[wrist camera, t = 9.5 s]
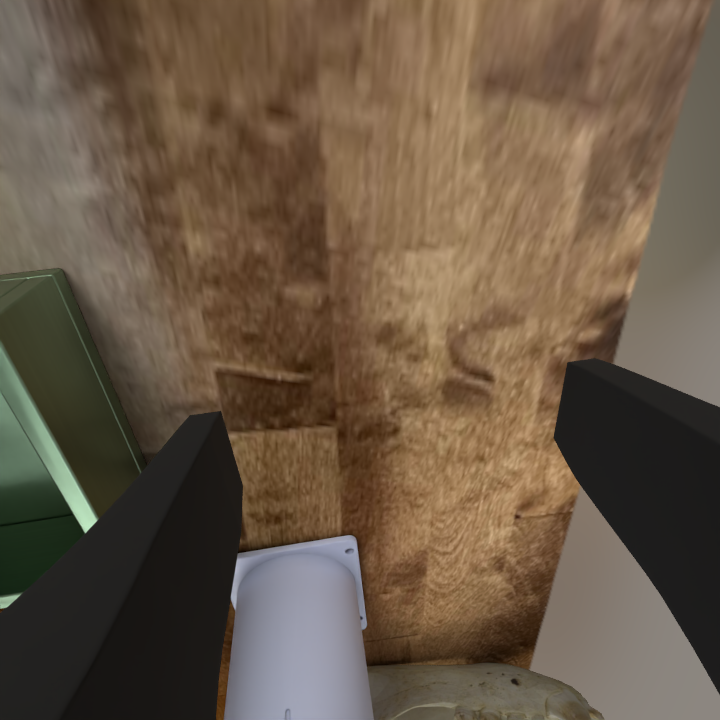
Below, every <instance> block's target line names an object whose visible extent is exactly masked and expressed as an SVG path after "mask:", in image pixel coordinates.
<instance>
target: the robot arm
mask: <svg viewBox="0 0 720 720" xmlns="http://www.w3.org/2000/svg"><path fill="white" fill-rule="evenodd" d="M554 439H555V441H556V443H557V445H558V447H559V449H560V451H561V453H562V455H563V457H564V458H565V460H566V462H567V464H568V466H569V467H570V469H571V471H572V473H573V474H574V476H575V478H576V479H577V481H578V482H579V484H580V485H581V486H582V488H583V489H584V491H585V492H586V493H587V495H588V496H589V497H590V499H591V500H592V501H593V503H594V504H595V506H596V507H597V508H598V510H599V511H600V512H601V514H602V515H603V516H604V518H605V519H606V520H607V522H608V523H609V525H610V526H611V527H612V529H613V530H614V531H615V533H616V534H617V535H618V536H619V538H620V539H621V541H622V542H623V543H624V545H625V546H626V547H627V549H628V550H629V551H630V553H631V554H632V555H633V557H634V558H635V559H636V561H637V562H638V563H639V565H640V566H641V567H642V569H643V570H644V572H645V573H646V574H647V576H648V577H649V579H650V580H651V581H652V583H653V585H654V586H655V587H656V589H657V590H658V592H659V593H660V595H661V596H662V598H663V599H664V601H665V603H666V604H667V606H668V608H669V609H670V611H671V613H672V614H673V615H674V617H675V619H676V621H677V622H678V624H679V626H680V627H681V629H682V631H683V632H684V634H685V636H686V637H687V639H688V640H689V642H690V644H691V645H692V647H693V648H694V650H695V652H696V654H697V656H698V657H699V659H700V661H701V663H702V664H703V666H704V668H705V670H706V671H707V673H708V675H709V677H710V678H711V680H712V682H713V684H714V685H715V687H716V689H717V691H718V692H719V694H720V407H718V406H715V405H712V404H710V403H707V402H705V401H703V400H700V399H698V398H695V397H693V396H690V395H688V394H686V393H683V392H681V391H678V390H676V389H673V388H671V387H669V386H666V385H664V384H661V383H659V382H657V381H654V380H652V379H649V378H647V377H644V376H642V375H639V374H637V373H635V372H632V371H629V370H627V369H624V368H622V367H619V366H616V365H614V364H611V363H608V362H605V361H602V360H599V359H588V360H581V361H573V362H568V363H567V368H566V374H565V379H564V384H563V390H562V395H561V401H560V406H559V411H558V417H557V422H556V427H555V433H554ZM242 496H243V485H242V481H241V478H240V474H239V471H238V467H237V464H236V461H235V457H234V454H233V450H232V447H231V444H230V440H229V437H228V433H227V430H226V427H225V423H224V420H223V416H222V413H221V411H219V412H211V413H204V414H197V415H190V416H189V417H188V418H187V419H186V420H185V422H184V423H183V424H182V425H181V426H180V427H179V429H178V430H177V431H176V432H175V433H174V434H173V436H172V437H171V438H170V439H169V440H168V442H167V443H166V444H165V445H164V446H163V448H162V449H161V450H160V451H159V452H158V454H157V455H156V456H155V457H154V458H153V460H152V461H151V462H150V463H149V464H148V465H147V467H146V468H145V469H144V470H143V471H142V472H141V473H140V475H139V476H138V477H137V478H136V479H135V480H134V481H133V483H132V484H131V485H130V486H129V487H128V488H127V490H126V491H125V492H124V493H123V494H122V495H121V496H120V497H119V498H118V499H117V500H116V501H115V502H114V504H113V505H112V506H111V507H110V508H109V509H108V510H107V511H106V512H105V513H104V514H103V515H102V516H101V517H100V518H99V519H98V520H97V521H96V523H95V524H94V525H93V526H92V527H91V528H90V529H89V530H88V531H87V532H86V533H85V534H84V535H83V536H82V537H81V538H80V539H79V540H78V541H77V542H76V543H75V544H74V545H73V546H72V547H71V548H70V549H69V550H68V551H67V552H66V553H65V554H64V555H63V556H62V557H61V558H60V559H59V560H58V561H57V562H56V563H55V564H54V565H53V566H52V567H51V568H50V569H49V570H48V571H46V572H45V573H44V574H43V575H42V576H41V577H40V578H39V579H38V580H37V581H35V582H34V583H33V584H32V585H31V586H30V587H29V588H28V589H27V590H26V591H24V592H23V593H22V594H21V595H20V596H19V597H18V598H17V599H16V600H15V601H13V602H12V603H11V604H10V605H9V606H8V607H7V608H5V609H4V610H3V611H2V612H1V613H0V720H216V709H217V695H218V681H219V672H220V664H221V656H222V648H223V642H224V636H225V630H226V624H227V617H228V611H229V605H230V599H231V601H232V604H233V606H234V609H235V611H236V612H235V621H234V630H233V640H232V649H231V658H230V668H229V677H228V686H227V696H226V705H225V714H224V720H374V717H373V709H372V702H371V695H370V687H369V680H368V672H367V665H366V657H365V650H364V643H363V635H362V630H363V629H365V628H366V627H367V620H366V612H365V604H364V596H363V588H362V580H361V571H360V563H359V555H358V547H357V540H356V538H355V537H354V536H352V535H346V536H340V537H334V538H328V539H322V540H316V541H309V542H303V543H297V544H291V545H285V546H279V547H273V548H267V549H261V550H255V551H249V552H243V553H238V549H239V543H240V536H241V523H242Z"/></svg>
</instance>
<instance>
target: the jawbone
mask: <svg viewBox="0 0 720 720" xmlns="http://www.w3.org/2000/svg"><path fill="white" fill-rule="evenodd" d="M367 672H368V680H369V687H370V695H371V702H372V709H373V717H374V720H604V718H603V716H602V714H601V713H600V712H598V711H597V710H595V709H594V708H592V707H591V706H589V704H588V702H587V701H586V699H585V698H583V697H582V695H581V694H580V693H579V692H578V691H576V690H575V689H574V688H573V687H571V686H569V685H567V684H565V683H563V682H561V681H559V680H556V679H553V678H550V677H547V676H544V675H541V674H538V673H536V672H533V671H530V670H527V669H523V668H520V667H516V666H513V665H509V664H501V663H477V664H468V665H384V666H370V667H367Z"/></svg>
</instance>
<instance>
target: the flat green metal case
mask: <svg viewBox="0 0 720 720" xmlns="http://www.w3.org/2000/svg"><path fill="white" fill-rule="evenodd" d="M146 467H147V465H146V462H145V460H144V458H143V455H142V453H141V451H140V448H139V446H138V444H137V441H136V439H135V437H134V435H133V432H132V430H131V428H130V425H129V423H128V421H127V418H126V416H125V414H124V411H123V409H122V407H121V405H120V402H119V400H118V398H117V395H116V393H115V391H114V388H113V386H112V384H111V381H110V379H109V377H108V374H107V372H106V370H105V368H104V365H103V363H102V361H101V358H100V356H99V354H98V351H97V349H96V347H95V344H94V342H93V340H92V338H91V335H90V333H89V331H88V328H87V326H86V324H85V321H84V319H83V317H82V314H81V312H80V310H79V307H78V305H77V303H76V301H75V298H74V296H73V294H72V291H71V289H70V287H69V284H68V282H67V280H66V277H65V275H64V273H63V271H62V269H60V268H58V269H49V270H40V271H31V272H22V273H14V274H5V275H0V609H1V608H7V607H8V606H9V605H10V604H11V603H12V602H13V601H15V600H16V599H17V598H18V597H19V596H20V595H21V594H22V593H23V592H24V591H26V590H27V589H28V588H29V587H30V586H31V585H32V584H33V583H34V582H35V581H37V580H38V579H39V578H40V577H41V576H42V575H43V574H44V573H45V572H46V571H48V570H49V569H50V568H51V567H52V566H53V565H54V564H55V563H56V562H57V561H58V560H59V559H60V558H61V557H62V556H63V555H64V554H65V553H66V552H67V551H68V550H69V549H70V548H71V547H72V546H73V545H74V544H75V543H76V542H77V541H78V540H79V539H80V538H81V537H82V536H83V535H84V534H85V533H86V532H87V531H88V530H89V529H90V528H91V527H92V526H93V525H94V524H95V523H96V521H97V520H98V519H99V518H100V517H101V516H102V515H103V514H104V513H105V512H106V511H107V510H108V509H109V508H110V507H111V506H112V505H113V504H114V502H115V501H116V500H117V499H118V498H119V497H120V496H121V495H122V494H123V493H124V492H125V491H126V490H127V488H128V487H129V486H130V485H131V484H132V483H133V481H134V480H135V479H136V478H137V477H138V476H139V475H140V473H141V472H142V471H143V470H144V469H145V468H146Z"/></svg>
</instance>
